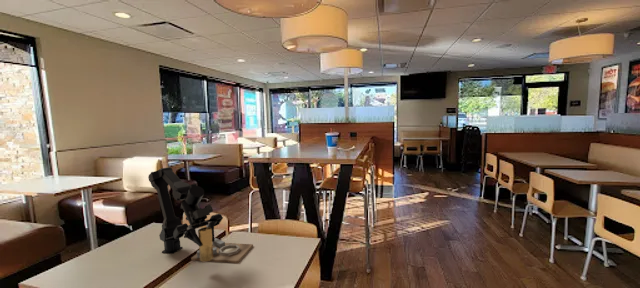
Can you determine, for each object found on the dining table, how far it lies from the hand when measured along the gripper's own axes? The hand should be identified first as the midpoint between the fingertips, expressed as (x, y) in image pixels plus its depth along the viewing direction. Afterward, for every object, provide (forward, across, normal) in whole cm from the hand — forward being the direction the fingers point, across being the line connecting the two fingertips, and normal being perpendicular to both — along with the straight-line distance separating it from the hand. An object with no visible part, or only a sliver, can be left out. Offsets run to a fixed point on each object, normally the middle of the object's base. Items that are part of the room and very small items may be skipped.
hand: (207, 243), depth 111 cm
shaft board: (+1, +13, +16) cm, 21 cm away
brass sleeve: (+4, 0, +6) cm, 7 cm away
